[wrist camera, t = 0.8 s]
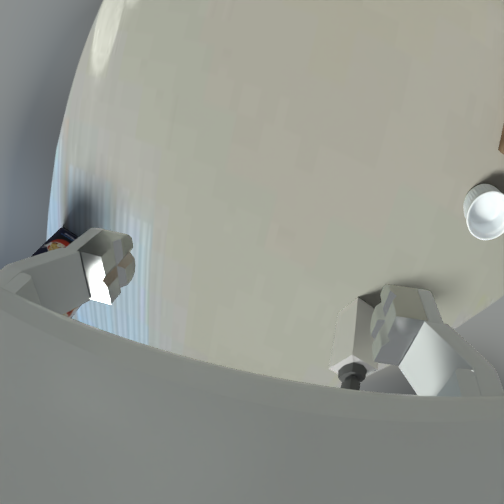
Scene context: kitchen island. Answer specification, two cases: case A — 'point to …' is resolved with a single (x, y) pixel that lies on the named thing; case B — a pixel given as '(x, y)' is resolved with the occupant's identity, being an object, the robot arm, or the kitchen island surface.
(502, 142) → the stand base
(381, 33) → the kitchen island surface
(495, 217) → the ramekin
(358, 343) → the soap dispenser
